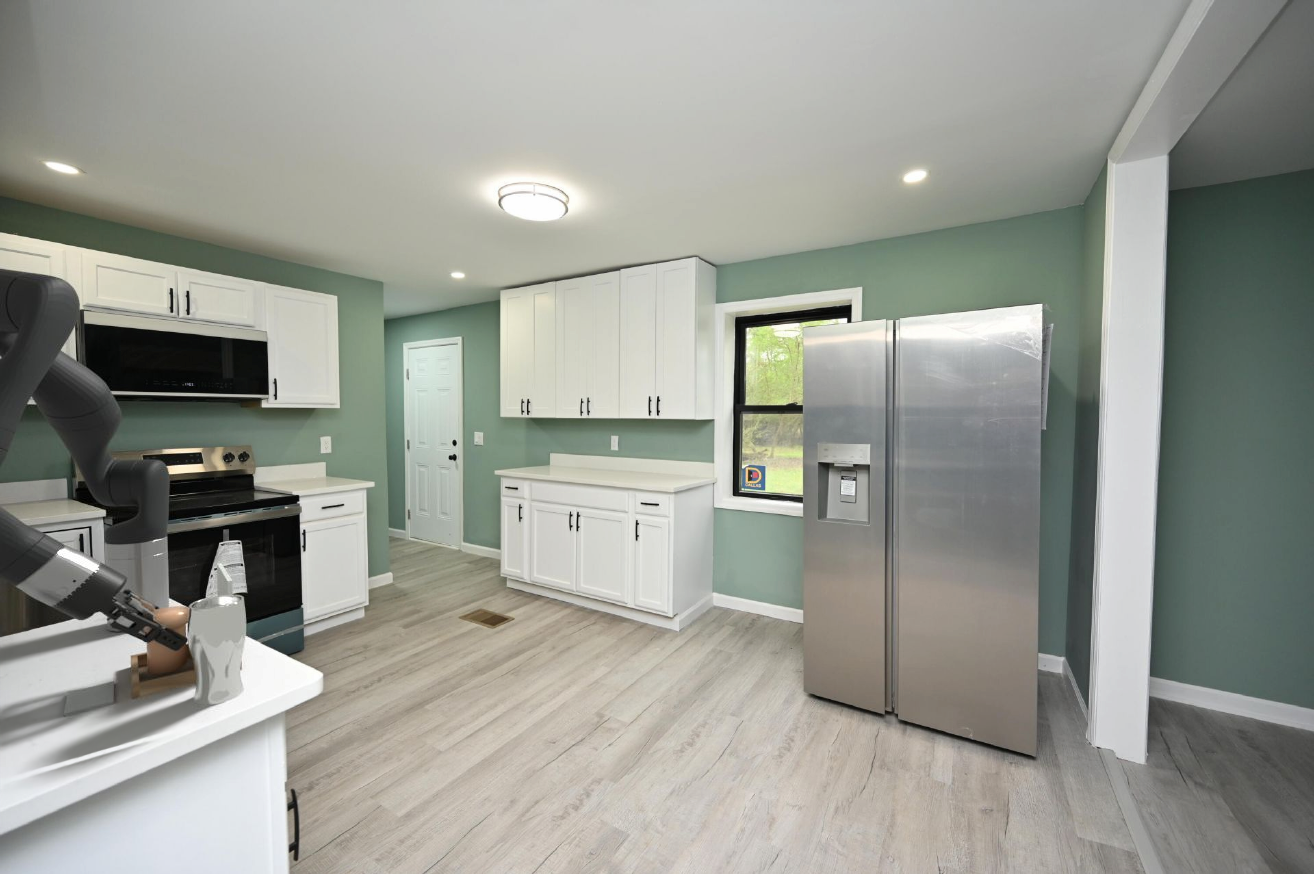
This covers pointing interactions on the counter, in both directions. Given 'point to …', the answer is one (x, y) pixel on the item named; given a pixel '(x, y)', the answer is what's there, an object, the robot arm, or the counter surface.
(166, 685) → the open wooden box
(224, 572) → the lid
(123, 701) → the counter surface
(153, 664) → the peach mushroom shaped stopper
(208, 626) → the beer glass
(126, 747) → the counter surface
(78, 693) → the tile
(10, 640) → the counter surface
